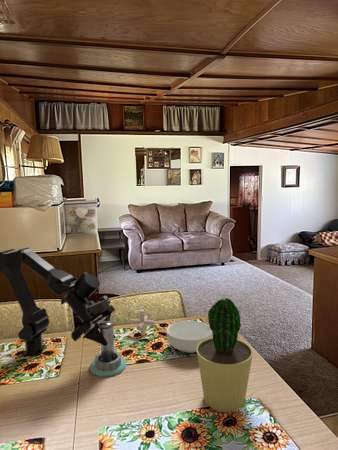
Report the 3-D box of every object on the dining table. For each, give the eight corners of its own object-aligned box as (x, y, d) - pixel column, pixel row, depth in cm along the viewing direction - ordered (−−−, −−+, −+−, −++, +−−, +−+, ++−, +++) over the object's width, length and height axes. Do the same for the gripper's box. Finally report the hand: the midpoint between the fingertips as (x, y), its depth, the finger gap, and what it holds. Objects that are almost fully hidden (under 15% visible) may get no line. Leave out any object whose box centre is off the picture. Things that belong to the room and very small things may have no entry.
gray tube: (98, 359, 112) (96, 322, 110) (111, 355, 115) (110, 319, 113) (103, 365, 108) (101, 327, 106) (117, 361, 111) (115, 324, 109)
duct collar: (92, 358, 117) (91, 349, 117) (126, 355, 118) (126, 347, 118) (87, 378, 105) (87, 368, 105) (125, 375, 106) (125, 365, 106)
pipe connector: (151, 340, 129) (150, 316, 127) (127, 338, 131) (126, 314, 129) (157, 329, 138) (157, 306, 137) (134, 327, 140) (133, 305, 139)
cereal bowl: (220, 343, 126) (220, 325, 125) (199, 364, 112) (199, 344, 111) (181, 333, 135) (180, 316, 134) (158, 351, 121) (157, 332, 120)
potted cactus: (234, 377, 104) (235, 284, 100) (263, 409, 89) (265, 302, 85) (188, 388, 99) (187, 291, 95) (211, 423, 85) (210, 311, 81)
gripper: (77, 301, 101) (110, 341, 99) (109, 282, 118) (138, 316, 116) (57, 322, 105) (88, 361, 103) (91, 301, 122) (119, 334, 120)
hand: (110, 341), depth 110 cm, fingers closed on gray tube, 4 cm apart
